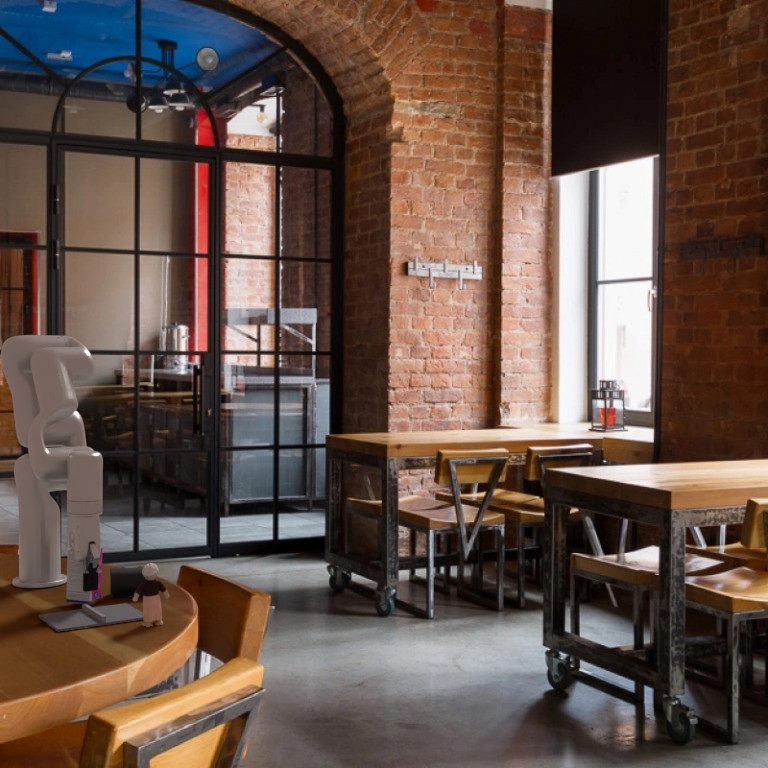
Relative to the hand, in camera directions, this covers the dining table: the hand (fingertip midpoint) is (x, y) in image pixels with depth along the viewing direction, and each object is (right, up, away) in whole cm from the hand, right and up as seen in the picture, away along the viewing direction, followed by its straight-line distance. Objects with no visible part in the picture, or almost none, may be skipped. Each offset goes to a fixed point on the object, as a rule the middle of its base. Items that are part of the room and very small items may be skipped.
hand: (84, 586), depth 233 cm
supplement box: (0, -3, 0) cm, 3 cm away
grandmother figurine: (+18, -5, -17) cm, 25 cm away
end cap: (+8, -4, +9) cm, 13 cm away
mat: (+5, -5, -11) cm, 13 cm away
